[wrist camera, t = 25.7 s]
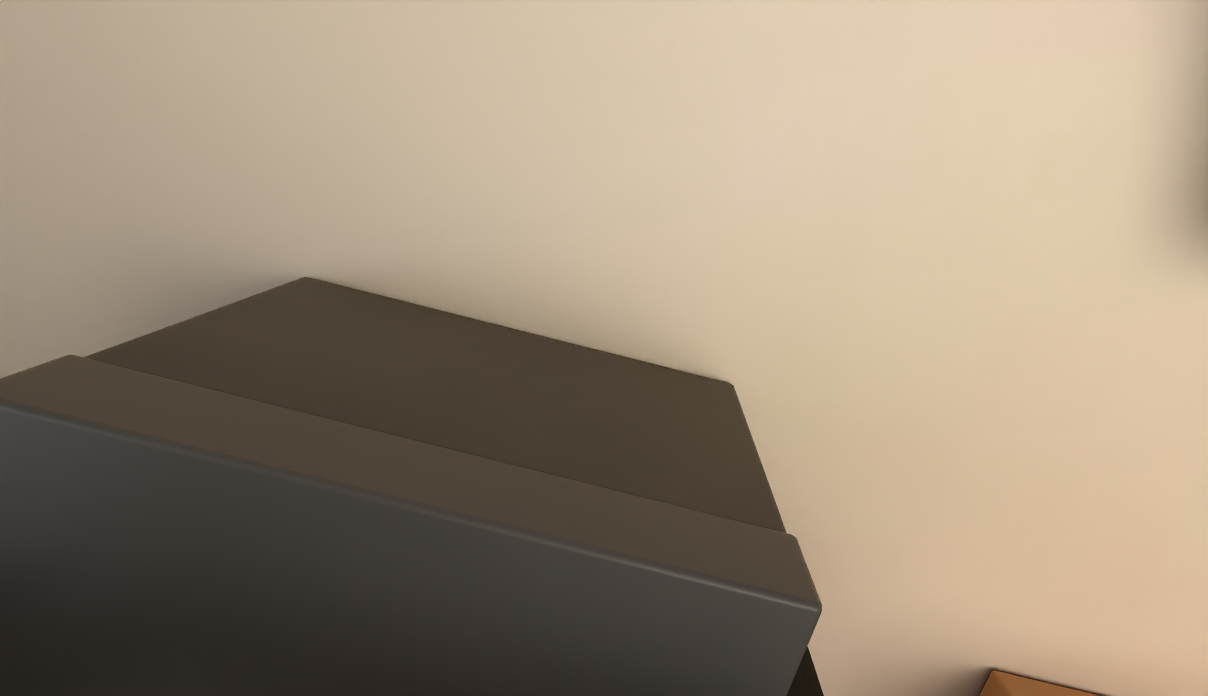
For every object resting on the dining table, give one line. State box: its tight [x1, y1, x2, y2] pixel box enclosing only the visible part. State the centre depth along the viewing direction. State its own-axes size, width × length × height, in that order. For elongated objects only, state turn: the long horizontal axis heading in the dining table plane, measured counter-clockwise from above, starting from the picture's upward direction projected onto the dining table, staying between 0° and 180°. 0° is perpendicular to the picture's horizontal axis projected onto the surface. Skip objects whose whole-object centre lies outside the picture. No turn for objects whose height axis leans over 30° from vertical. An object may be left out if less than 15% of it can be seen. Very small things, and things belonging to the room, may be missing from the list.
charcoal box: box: [0, 277, 822, 696], centre depth 8 cm, size 7×7×5 cm
